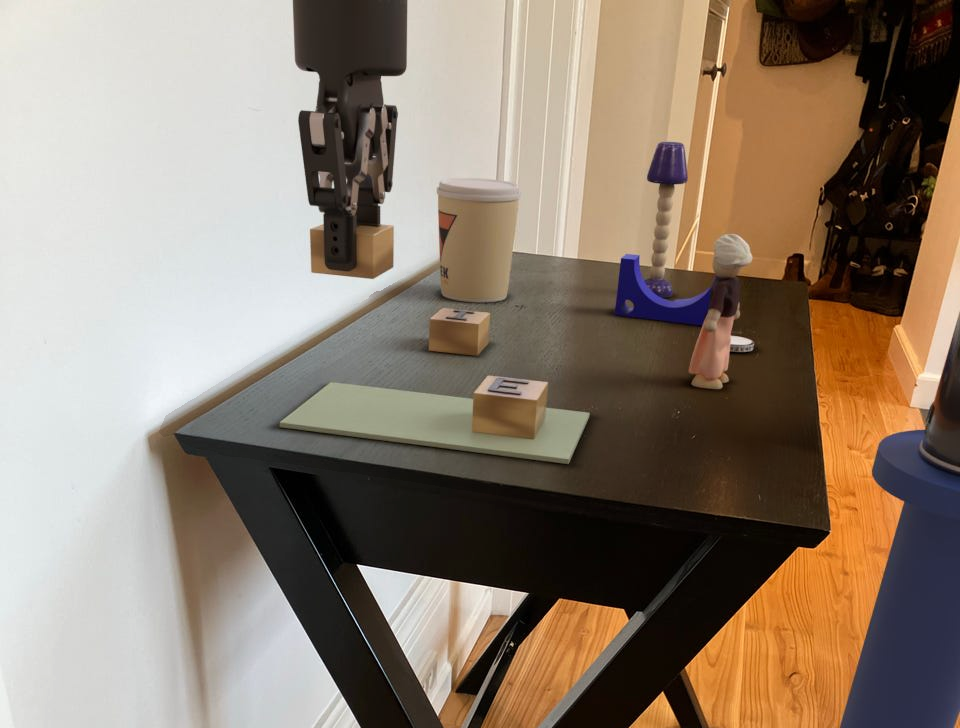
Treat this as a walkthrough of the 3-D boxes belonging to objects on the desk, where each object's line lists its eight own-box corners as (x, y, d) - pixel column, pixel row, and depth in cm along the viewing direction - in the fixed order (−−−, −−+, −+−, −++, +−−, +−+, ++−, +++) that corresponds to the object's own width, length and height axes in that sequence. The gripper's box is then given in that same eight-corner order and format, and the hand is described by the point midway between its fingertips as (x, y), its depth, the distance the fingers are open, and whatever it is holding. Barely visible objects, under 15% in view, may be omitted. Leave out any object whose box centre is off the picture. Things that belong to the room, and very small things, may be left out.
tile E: (545, 419, 79) (548, 380, 77) (534, 439, 75) (537, 398, 73) (485, 412, 79) (487, 373, 78) (471, 431, 75) (473, 391, 74)
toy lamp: (663, 300, 120) (684, 145, 111) (627, 294, 122) (645, 141, 113) (677, 294, 123) (698, 143, 115) (642, 288, 125) (660, 139, 117)
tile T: (393, 267, 76) (394, 223, 75) (373, 279, 72) (373, 233, 71) (334, 261, 77) (333, 218, 76) (310, 272, 73) (309, 227, 72)
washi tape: (753, 353, 100) (754, 347, 100) (713, 349, 101) (714, 343, 100) (752, 343, 104) (753, 337, 103) (713, 339, 104) (714, 333, 104)
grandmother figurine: (692, 369, 94) (715, 225, 88) (733, 375, 93) (759, 230, 87) (681, 392, 88) (704, 239, 82) (725, 398, 87) (752, 243, 81)
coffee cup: (437, 284, 121) (440, 175, 115) (514, 288, 121) (521, 180, 115) (430, 301, 113) (433, 185, 107) (513, 306, 113) (521, 191, 107)
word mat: (589, 417, 81) (589, 412, 81) (568, 464, 72) (568, 459, 71) (330, 386, 85) (330, 381, 84) (279, 427, 75) (279, 422, 75)
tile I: (488, 343, 99) (490, 311, 97) (477, 356, 95) (479, 322, 93) (441, 338, 100) (442, 306, 98) (428, 350, 96) (429, 317, 94)
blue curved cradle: (727, 319, 113) (736, 263, 110) (722, 328, 109) (732, 270, 106) (622, 306, 116) (629, 251, 113) (614, 314, 112) (621, 258, 109)
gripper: (369, -13, 59) (370, 287, 68) (434, -2, 71) (428, 252, 80) (250, -19, 60) (266, 276, 69) (334, -7, 72) (339, 243, 81)
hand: (353, 262), depth 74 cm, fingers closed on tile T, 4 cm apart
